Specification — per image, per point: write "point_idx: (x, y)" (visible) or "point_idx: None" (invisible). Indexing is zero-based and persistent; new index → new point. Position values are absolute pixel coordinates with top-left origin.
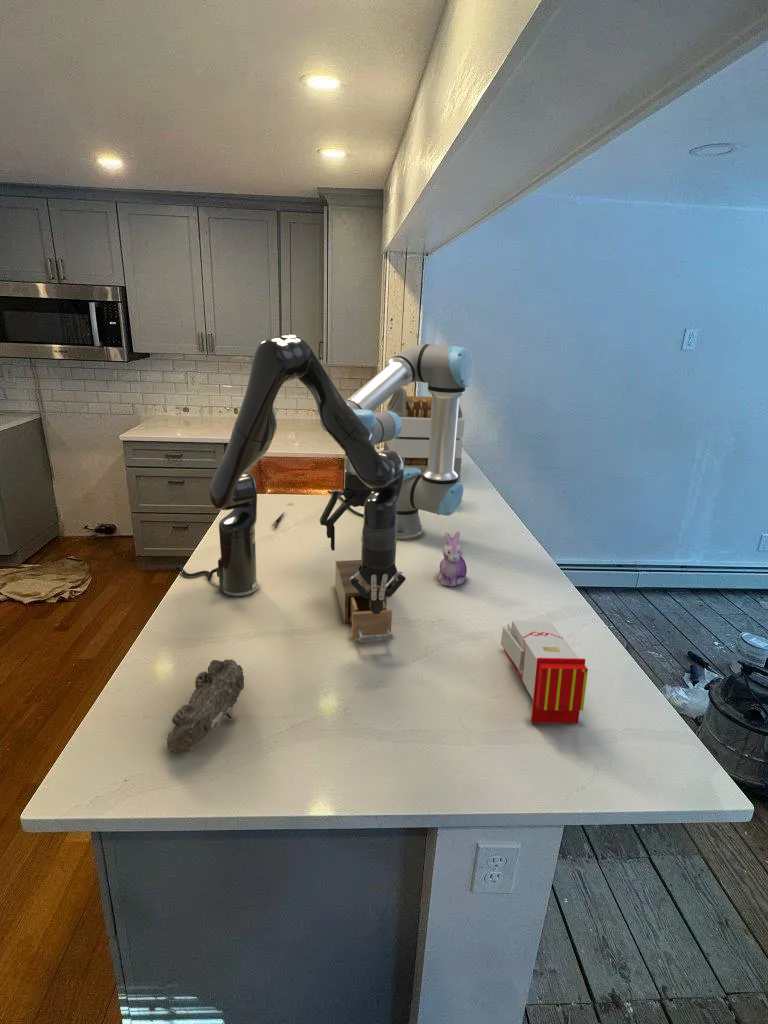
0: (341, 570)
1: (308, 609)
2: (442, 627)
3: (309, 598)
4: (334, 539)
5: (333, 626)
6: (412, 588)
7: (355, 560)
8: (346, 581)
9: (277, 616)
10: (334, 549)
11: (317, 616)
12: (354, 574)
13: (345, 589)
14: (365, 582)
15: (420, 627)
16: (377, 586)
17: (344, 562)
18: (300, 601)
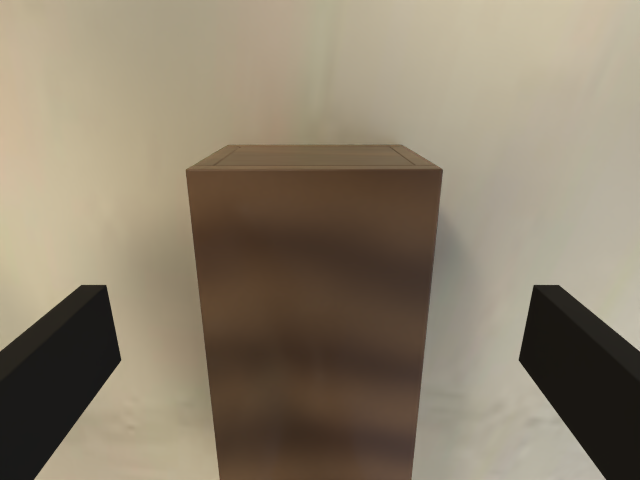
0: (217, 302)
1: (117, 306)
2: (549, 451)
3: (114, 225)
4: (62, 436)
5: (208, 412)
6: (577, 191)
7: (320, 176)
8: (236, 415)
9: (9, 338)
10: (116, 364)
11: (154, 353)
12: (286, 353)
13: (225, 477)
14: (329, 433)
15: (481, 444)
16: (377, 469)
17: (244, 198)
18: (79, 244)
